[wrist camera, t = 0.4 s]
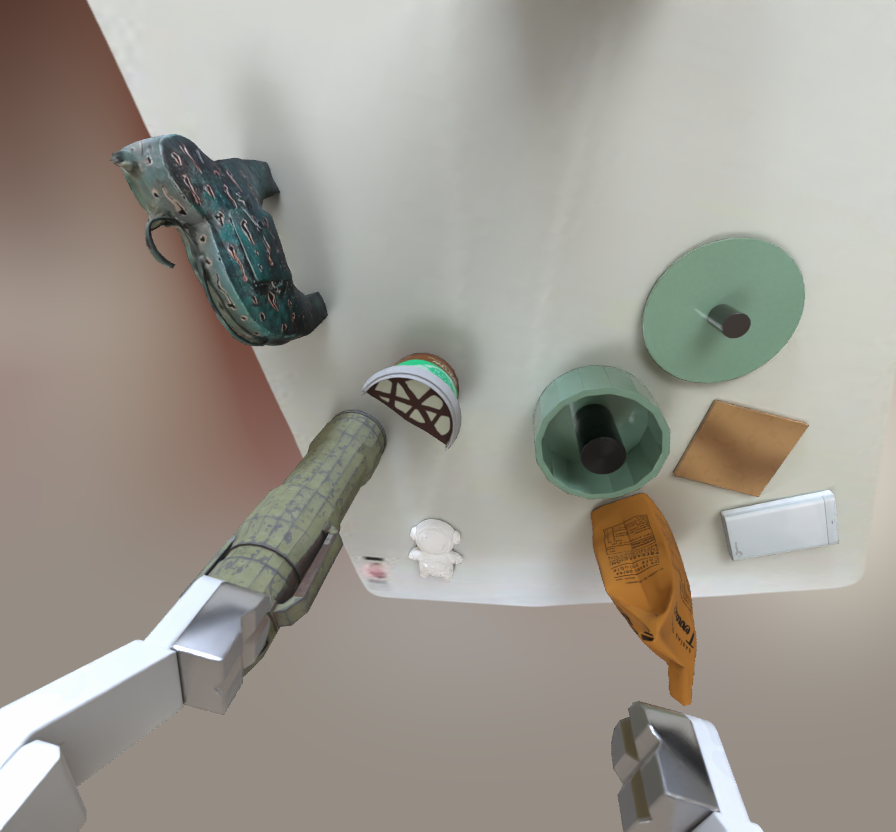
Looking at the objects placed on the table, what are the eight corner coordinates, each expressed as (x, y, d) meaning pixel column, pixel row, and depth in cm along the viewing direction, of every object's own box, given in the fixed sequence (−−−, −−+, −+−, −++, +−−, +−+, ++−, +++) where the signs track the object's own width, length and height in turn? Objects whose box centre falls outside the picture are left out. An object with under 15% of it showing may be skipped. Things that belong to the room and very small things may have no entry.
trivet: (714, 399, 52) (716, 401, 52) (806, 423, 52) (809, 425, 51) (673, 472, 57) (674, 475, 57) (756, 494, 57) (758, 497, 56)
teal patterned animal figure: (227, 159, 49) (57, 140, 31) (276, 138, 47) (126, 106, 29) (301, 328, 57) (200, 390, 39) (345, 316, 55) (260, 375, 37)
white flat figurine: (408, 569, 73) (403, 583, 71) (412, 514, 68) (407, 527, 65) (459, 579, 73) (456, 594, 70) (467, 524, 67) (465, 538, 64)
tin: (581, 399, 54) (589, 432, 47) (618, 409, 54) (633, 444, 47) (568, 431, 57) (574, 468, 49) (604, 441, 56) (616, 479, 49)
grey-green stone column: (405, 457, 63) (289, 709, 32) (332, 467, 66) (164, 707, 35) (385, 402, 60) (235, 627, 29) (310, 416, 62) (100, 633, 32)
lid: (678, 220, 44) (696, 224, 40) (832, 257, 44) (867, 264, 39) (619, 360, 52) (627, 376, 47) (749, 394, 51) (770, 413, 47)
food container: (488, 380, 56) (481, 415, 47) (461, 414, 58) (449, 453, 50) (407, 323, 54) (384, 349, 45) (383, 361, 57) (357, 392, 48)
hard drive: (733, 562, 60) (840, 545, 57) (724, 517, 57) (836, 496, 54) (728, 553, 62) (832, 536, 58) (719, 509, 59) (828, 488, 55)
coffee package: (608, 566, 66) (642, 720, 47) (580, 504, 62) (605, 645, 43) (677, 551, 63) (744, 710, 44) (653, 484, 59) (716, 628, 39)
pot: (555, 352, 53) (558, 373, 46) (674, 382, 52) (694, 408, 46) (520, 450, 60) (519, 480, 53) (625, 478, 59) (637, 512, 53)
